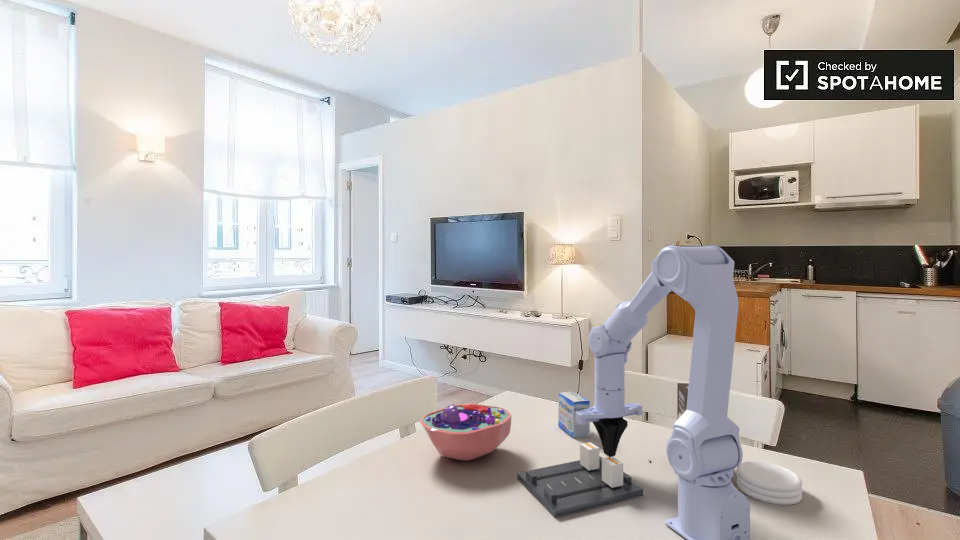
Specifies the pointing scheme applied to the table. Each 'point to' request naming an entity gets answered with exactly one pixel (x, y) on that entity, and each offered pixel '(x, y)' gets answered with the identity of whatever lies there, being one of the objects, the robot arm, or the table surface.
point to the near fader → (612, 471)
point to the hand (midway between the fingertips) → (609, 454)
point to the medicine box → (572, 414)
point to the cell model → (467, 430)
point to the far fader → (589, 456)
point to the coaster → (769, 483)
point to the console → (575, 488)
